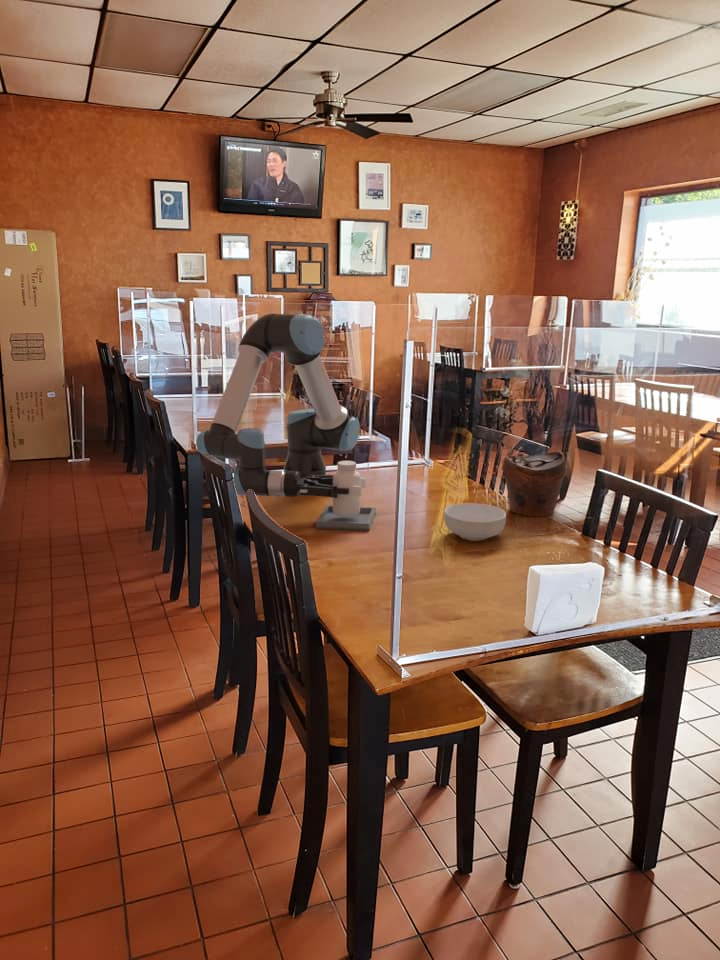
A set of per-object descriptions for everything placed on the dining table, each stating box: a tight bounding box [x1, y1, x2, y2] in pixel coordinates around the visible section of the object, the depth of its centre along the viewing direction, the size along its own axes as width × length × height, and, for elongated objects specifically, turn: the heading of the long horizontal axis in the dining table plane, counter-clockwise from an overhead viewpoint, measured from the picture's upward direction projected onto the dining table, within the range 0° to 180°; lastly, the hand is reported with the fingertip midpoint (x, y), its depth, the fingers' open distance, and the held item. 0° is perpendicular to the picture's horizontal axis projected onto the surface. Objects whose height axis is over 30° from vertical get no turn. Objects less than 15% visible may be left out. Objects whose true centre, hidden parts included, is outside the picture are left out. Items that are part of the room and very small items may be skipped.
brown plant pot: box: [501, 451, 567, 517], centre depth 219 cm, size 18×20×18 cm
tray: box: [315, 504, 377, 532], centre depth 212 cm, size 15×15×2 cm
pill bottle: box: [332, 460, 362, 516], centre depth 210 cm, size 8×8×15 cm
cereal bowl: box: [443, 502, 507, 542], centre depth 199 cm, size 17×17×7 cm
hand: (363, 486), depth 209 cm, fingers closed on pill bottle, 8 cm apart
